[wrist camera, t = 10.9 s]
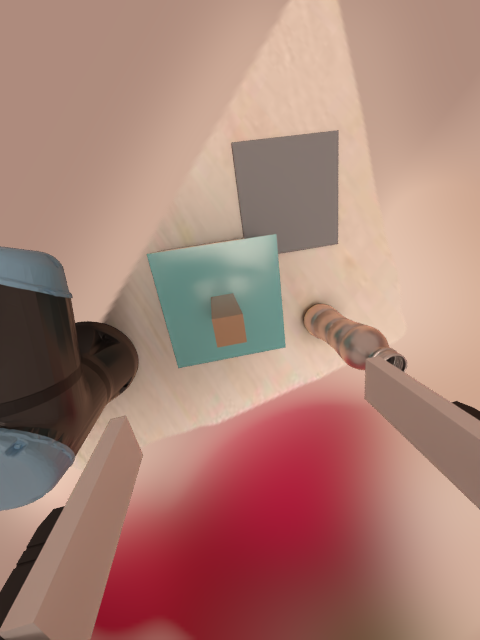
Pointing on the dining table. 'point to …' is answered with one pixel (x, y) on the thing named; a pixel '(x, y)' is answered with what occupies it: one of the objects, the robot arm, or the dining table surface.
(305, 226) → the mat
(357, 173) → the dining table surface
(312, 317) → the plastic bottle
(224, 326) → the teal base with peg
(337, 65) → the dining table surface
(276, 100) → the dining table surface
